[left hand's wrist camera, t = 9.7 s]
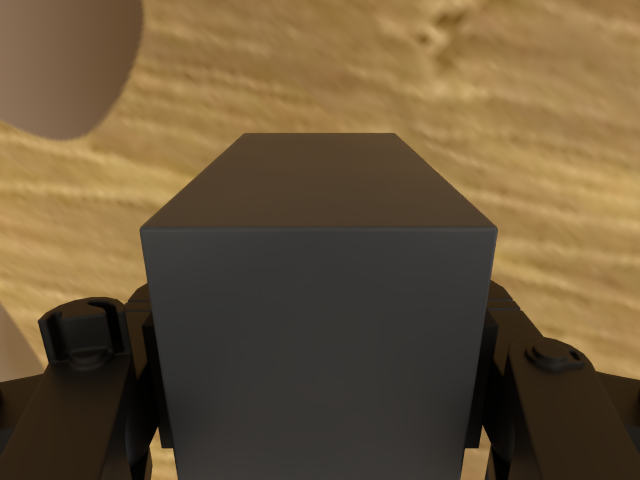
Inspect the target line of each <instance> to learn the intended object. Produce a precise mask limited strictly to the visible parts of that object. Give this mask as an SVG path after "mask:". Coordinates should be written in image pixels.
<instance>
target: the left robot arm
mask: <svg viewBox="0 0 640 480" xmlns="http://www.w3.org/2000/svg"><path fill="white" fill-rule="evenodd" d="M38 324H39V328H40V332H41V335H42V339H43V343H44V347H45V351H46V355H47V358H48V362H49V364H48V366H47V368H46V370H45V372H44V374H40V375H36V376H31V377H26V378H21V379H15V380H10V381H5V382H0V480H151V473H152V459H151V452H150V447H149V445H150V443H151V441H152V439H153V436H154V434H155V432H156V430H157V428H159V434H160V440H161V446H162V448H173V444H172V438H171V431H170V425H169V418H168V412H167V405H166V399H165V392H164V386H163V379H162V373H161V366H160V360H159V353H158V347H157V340H156V334H155V327H154V321H153V314H152V308H151V301H150V295H149V288H148V283H146V284H145V285H143V286H141V287H140V288H138V289H137V290H136V291H135V292H134V294H133V295H132V296H131V297H130V299H129V300H128V303H126V304H125V305H124V304H123V303H121V302H120V301H119V300H117V299H113V298H108V297H90V298H84V299H79V300H74V301H71V302H68V303H65V304H62V305H59V306H58V307H56V308H54V309H52V310H50V311H48V312H47V313H45V314H44V315H43V316H42V317H41V318H40V319H39V320H38ZM482 424H483V427H484V429H485V431H486V433H487V436H488V438H489V440H490V442H491V447H490V452H489V458H488V464H487V469H486V475H485V480H640V380H636V379H631V378H626V377H620V376H615V375H610V374H605V373H601V372H597V371H595V369H594V367H593V365H592V363H591V362H590V361H589V360H588V358H587V357H586V356H585V355H584V354H583V353H582V352H580V351H579V350H577V349H576V348H574V347H573V346H571V345H568V344H566V343H563V342H561V341H558V340H556V339H551V338H546V337H543V335H542V334H541V333H540V332H539V330H538V329H537V328H536V327H535V326H534V324H533V323H532V322H531V321H530V319H529V318H528V317H527V316H526V315H525V313H524V312H523V311H520V307H519V306H518V305H517V304H516V302H515V301H513V299H512V297H511V296H510V295H509V294H508V293H507V291H506V290H505V289H504V288H503V287H502V286H500V285H498V284H497V283H495V282H493V281H492V280H490V286H489V292H488V299H487V306H486V312H485V319H484V325H483V332H482V339H481V345H480V352H479V359H478V365H477V372H476V378H475V385H474V392H473V398H472V405H471V412H470V418H469V425H468V431H467V438H466V445H465V448H479V442H480V436H481V430H482Z"/></svg>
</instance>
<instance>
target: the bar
mask: <svg viewBox="0 0 640 480" xmlns="http://www.w3.org/2000/svg"><path fill="white" fill-rule="evenodd" d="M497 233H498V229H497V227H496V226H495V225H494V224H493V223H492V222H491V221H490V220H489V219H488V218H487V217H485V216H484V215H483V214H482V213H481V212H480V211H479V210H478V209H477V208H476V207H475V206H473V205H472V204H471V203H470V202H469V201H468V200H467V199H466V198H465V197H464V196H463V195H462V194H460V193H459V192H458V191H457V190H456V189H455V188H454V187H453V186H452V185H451V184H450V183H448V182H447V181H446V180H445V179H444V178H443V177H442V176H441V175H440V174H439V173H438V172H436V171H435V170H434V169H433V168H432V167H431V166H430V165H429V164H428V163H427V162H426V161H424V160H423V159H422V158H421V157H420V156H419V155H418V154H417V153H416V152H415V151H414V150H413V149H411V148H410V147H409V146H408V145H407V144H406V143H405V142H404V141H403V140H402V139H401V138H399V137H398V136H397V135H396V134H395V133H245V134H243V135H242V136H241V137H240V138H239V139H237V140H236V141H235V142H234V143H233V144H232V145H231V146H230V147H229V148H228V149H226V150H225V151H224V152H223V153H222V154H221V155H220V156H219V157H218V158H216V159H215V160H214V161H213V162H212V163H211V164H210V165H209V166H208V167H207V168H205V169H204V170H203V171H202V172H201V173H200V174H199V175H198V176H197V177H195V178H194V179H193V180H192V181H191V182H190V183H189V184H188V185H187V186H185V187H184V188H183V189H182V190H181V191H180V192H179V193H178V194H177V195H176V196H174V197H173V198H172V199H171V200H170V201H169V202H168V203H167V204H166V205H164V206H163V207H162V208H161V209H160V210H159V211H158V212H157V213H156V214H154V215H153V216H152V217H151V218H150V219H149V220H148V221H147V222H146V223H145V224H143V225H142V226H141V227H140V236H141V243H142V249H143V256H144V262H145V269H146V275H147V282H148V288H149V295H150V301H151V308H152V314H153V321H154V327H155V334H156V340H157V347H158V353H159V360H160V366H161V373H162V379H163V386H164V392H165V399H166V405H167V412H168V418H169V425H170V431H171V438H172V444H173V451H174V457H175V464H176V470H177V477H178V480H460V478H461V471H462V465H463V458H464V451H465V445H466V438H467V431H468V425H469V418H470V412H471V405H472V398H473V392H474V385H475V378H476V372H477V365H478V359H479V352H480V345H481V339H482V332H483V325H484V319H485V312H486V306H487V299H488V292H489V286H490V279H491V272H492V266H493V259H494V253H495V246H496V239H497Z"/></svg>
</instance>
